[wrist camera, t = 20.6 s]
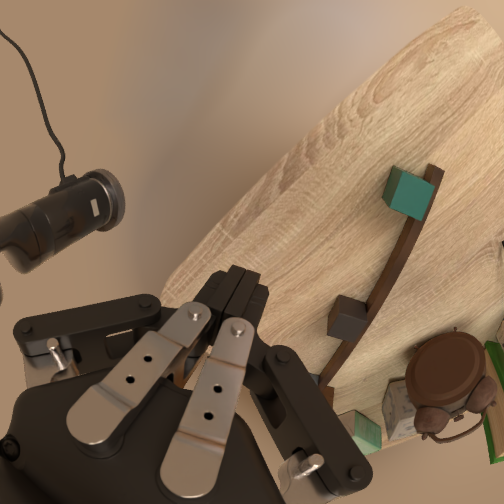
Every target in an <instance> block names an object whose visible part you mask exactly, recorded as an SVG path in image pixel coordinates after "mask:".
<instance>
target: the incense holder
mask: <svg viewBox="0 0 504 504" xmlns="http://www.w3.org/2000/svg"><path fill="white" fill-rule="evenodd" d="M416 411H417V410H416V409H415V407H414V406H413V404H412V403H411V401H410V399H409V396H408V393H407V388H406V384H405V380H401V381H396V382H392V383H390V384H389V386H388V390H387V393H386V395H385V399H384V402H383V404H382V412H383V416H384V420H385V425H386V431H387V436H388V440H389V441H394V440H398V439H402V438H406V437H409V436H412V435H415V434H418V433H417V432H416V431H417V430H416V429H415V427H414V417H415V414H416Z"/></svg>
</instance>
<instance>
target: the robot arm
mask: <svg viewBox="0 0 504 504" xmlns="http://www.w3.org/2000/svg"><path fill="white" fill-rule="evenodd" d="M0 34H1V35H2V36H3V37H4V38H5V39H6V40H8V41H9V42H10V43H11V44H12V45H13V46H14V47H15V48H16V49H17V50H18V52H19V53H20V54H21V56H22V58H23V59H24V61H25V63H26V66H27V68H28V70H29V73H30V76H31V78H32V81H33V84H34V87H35V91H36V94H37V97H38V101H39V104H40V107H41V111H42V114H43V118H44V122H45V125H46V127H47V130H48V132H49V135H50V136H51V138H52V139H53V141H54V142H55V144H56V145H57V147H58V148H59V150H60V153H61V160H60V163H59V173H60V178H61V182H60V184H59V186H57V187H54V188H52V189H51V190H50V191H49V194H48V196H46V197H43V198H41V199H39V200H37V201H34V202H32V203H30V204H28V205H26V206H24V207H22V208H20V209H18V210H16V211H14V212H12V213H10V214H7V215H5V216H2V217H0V252H2V253H3V254H4V256H5V257H6V258H7V260H8V261H9V263H10V264H11V265H12V267H13V268H14V269H15V270H17V271H18V272H19V273H21V274H28V273H30V272H31V271H33V270H34V269H35V268H37V267H38V266H40V265H41V264H43V263H44V262H46V261H47V260H49V259H50V258H51V257H53V256H54V255H56V254H58V253H59V252H61V251H62V250H64V249H65V248H67V247H68V246H70V245H72V244H73V243H75V242H76V241H78V240H80V239H81V238H83V237H85V236H86V235H88V234H90V233H91V232H93V231H95V230H96V229H99V228H100V227H102V226H104V225H106V224H107V223H108V222H109V221H110V220H111V218H112V214H113V201H112V197H111V194H110V192H109V190H108V188H107V187H106V185H105V184H104V183H103V182H102V181H101V180H99V179H97V178H91V177H90V175H86V176H84V177H81V178H78V179H77V177H76V176H75V175H74V174H73V175H71V176H68V177H65V175H64V170H63V164H64V161H65V151H64V149H63V147H62V145H61V143H60V142H59V140H58V139H57V137H56V136H55V134H54V133H53V131H52V129H51V126H50V124H49V121H48V118H47V114H46V110H45V107H44V103H43V100H42V97H41V94H40V91H39V87H38V84H37V81H36V78H35V75H34V73H33V70H32V68H31V65H30V63H29V61H28V59H27V57H26V56H25V54H24V53H23V51H22V50H21V49H20V47H19V46H18V45H17V44H16V43H14V42H13V41H12V40H11V39H10V38H9V37H7V36H6V35H5V34H4V33H3V32H2V31H1V30H0ZM260 276H261V274H259V273H257V272H254V271H251V270H248V269H247V270H246V269H245V268H242V267H239V266H236V265H232V266H231V268H230V269H229V271H228V272H227V273H226V272H224V271H221V270H219V271H217V272H215V273H213V274H212V275H211V276H210V278H209V279H208V281H207V282H206V283H205V285H204V286H203V287H202V289H201V290H200V291H199V293H198V294H197V295H196V297H195V298H194V300H193V301H192V302H187V303H184V304H183V305H182V306H181V307H180V308H167V307H161V302H160V300H159V299H158V298H157V297H155V296H153V295H150V294H140V295H135V296H130V297H125V298H121V299H116V300H111V301H106V302H102V303H97V304H92V305H87V306H83V307H78V308H72V309H67V310H62V311H57V312H52V313H47V314H42V315H37V316H31V317H26V318H23V319H21V320H19V321H18V322H17V323H16V325H15V326H14V329H13V335H14V338H15V340H16V341H17V343H18V345H19V348H20V351H21V353H22V354H23V359H24V368H25V376H26V384H27V390H25V391H24V392H22V393H21V394H20V396H19V397H18V398H17V400H16V402H15V405H14V409H13V415H12V420H11V423H10V427H9V429H8V432H7V434H6V435H5V437H4V438H3V439H1V440H0V504H326V503H328V502H330V501H332V500H335V499H338V498H341V497H344V496H347V495H350V494H352V493H355V492H358V491H360V490H362V489H364V488H366V487H367V486H368V485H369V484H370V482H371V480H372V477H373V471H372V467H371V465H370V464H369V462H368V461H367V459H366V458H365V456H364V455H363V453H362V452H361V450H360V449H359V447H358V446H357V444H356V443H355V442H354V440H353V439H352V437H351V436H350V434H349V433H348V431H347V430H346V428H345V427H344V425H343V424H342V422H341V421H340V419H339V418H338V416H337V415H336V413H335V412H334V410H333V409H332V407H331V406H330V404H329V403H328V401H327V400H326V398H325V397H324V395H323V393H322V392H321V390H320V389H319V387H318V386H317V384H316V383H315V381H314V380H313V378H312V377H311V375H310V374H309V372H308V370H307V369H306V367H305V366H304V364H303V363H302V361H301V360H300V358H299V357H298V355H297V354H296V352H295V351H294V350H292V349H291V348H289V347H287V346H283V345H275V346H272V347H270V346H269V345H267V344H266V343H264V342H263V341H262V340H261V339H260V338H259V336H258V334H257V327H258V324H259V322H260V319H261V316H262V313H263V311H264V308H265V305H266V302H267V299H268V296H269V291H268V287H267V286H264V285H261V284H258V283H259V279H260ZM2 300H3V290H2V287H1V284H0V306H1V303H2ZM129 329H132V331H130V332H126V333H122V334H118V335H114V336H110V337H106V336H107V335H109V334H113V333H117V332H121V331H126V330H129ZM209 345H211V346H213V348H212V351H211V353H210V356H209V357H207V359H206V360H205V363H204V365H203V368H202V370H201V373H200V375H199V378H198V380H197V383H196V385H195V387H194V390H193V391H192V390H187V389H183V388H184V386H185V384H186V383H187V381H188V380H189V378H190V377H191V375H192V374H193V372H194V371H195V369H196V368H197V366H198V364H199V363H200V362H201V360H202V358H203V357H204V353H205V351H206V350H207V348H208V346H209ZM89 372H90V373H89ZM85 373H86V374H85ZM81 374H82V375H81ZM78 375H79V376H78ZM242 384H243V385H244V386H246V387H247V388H248V389H250V395H251V397H252V399H253V401H254V403H255V405H256V407H257V409H258V411H259V413H260V415H261V417H262V419H263V421H264V423H265V425H266V427H267V429H268V431H269V433H270V434H271V436H272V438H273V440H274V442H275V444H276V446H277V448H278V450H279V451H280V453H281V455H282V457H283V459H284V462H283V463H282V464H281V465H280V467H279V469H278V477H279V480H280V484H281V485H280V490H279V489H278V487H277V485H276V483H275V481H274V479H273V477H272V475H271V473H270V471H269V469H268V466H267V464H266V462H265V460H264V458H263V456H262V454H261V451H260V449H259V447H258V445H257V443H256V441H255V438H254V436H253V434H252V432H251V429H250V428H249V426H248V425H247V423H246V422H245V421H244V420H243V419H242V418H241V417H240V416H239V415H238V414H237V413H236V412H235V409H236V406H237V402H238V398H239V395H240V391H241V387H242Z"/></svg>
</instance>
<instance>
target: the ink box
mask: <svg viewBox="0 0 504 504" xmlns="http://www.w3.org/2000/svg"><path fill="white" fill-rule="evenodd" d="M496 337H497V339H498V341H499V343H500V345H501V347H502V349H503V351H504V319H503V322H502V324H501V326H500V328H499V330H498V332H497V334H496Z"/></svg>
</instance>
